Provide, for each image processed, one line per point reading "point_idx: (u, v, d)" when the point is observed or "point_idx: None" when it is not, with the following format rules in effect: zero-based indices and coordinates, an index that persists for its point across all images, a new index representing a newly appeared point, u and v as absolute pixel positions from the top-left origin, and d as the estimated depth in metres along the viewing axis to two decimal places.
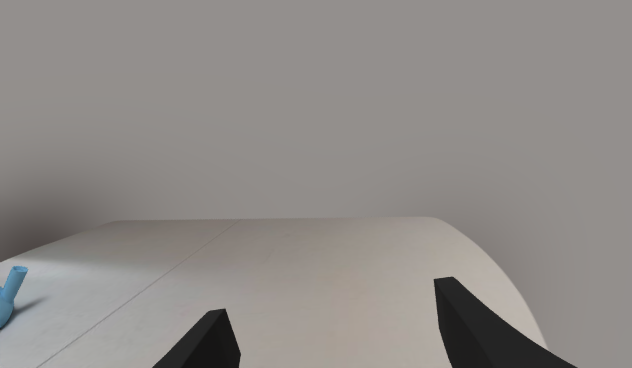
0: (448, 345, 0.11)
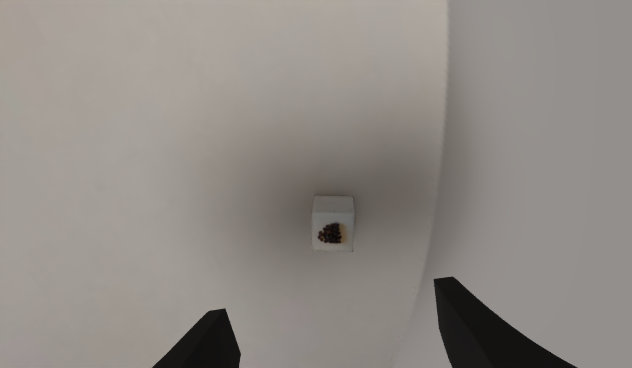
0: (448, 345, 0.11)
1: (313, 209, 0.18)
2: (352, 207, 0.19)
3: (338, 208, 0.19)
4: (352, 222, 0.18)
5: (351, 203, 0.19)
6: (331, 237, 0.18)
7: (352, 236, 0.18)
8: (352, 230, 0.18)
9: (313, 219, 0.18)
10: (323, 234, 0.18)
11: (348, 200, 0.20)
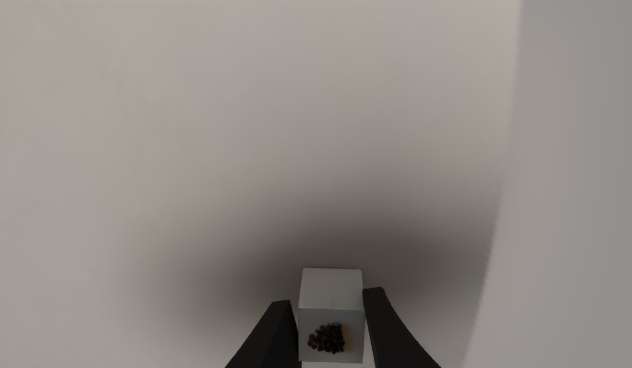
0: (373, 354, 0.11)
1: (300, 300, 0.12)
2: (361, 295, 0.12)
3: (339, 297, 0.12)
4: (362, 323, 0.11)
5: (359, 285, 0.12)
6: (329, 345, 0.12)
7: (361, 342, 0.12)
8: (362, 334, 0.12)
9: (300, 317, 0.12)
10: (316, 339, 0.12)
11: (355, 278, 0.13)
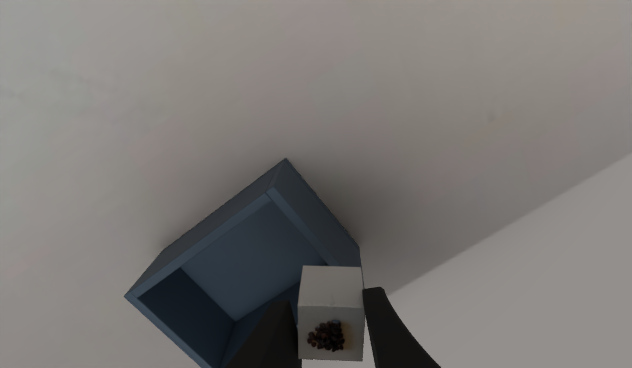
0: None
1: (300, 298, 0.12)
2: (361, 293, 0.12)
3: (339, 294, 0.12)
4: (361, 320, 0.11)
5: (359, 283, 0.12)
6: (328, 343, 0.12)
7: (361, 340, 0.12)
8: (361, 331, 0.12)
9: (300, 315, 0.12)
10: (316, 337, 0.12)
11: (354, 275, 0.13)
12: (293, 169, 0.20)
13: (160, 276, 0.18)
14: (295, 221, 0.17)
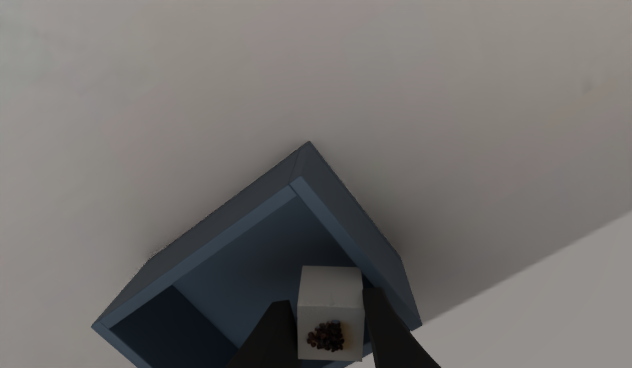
0: (373, 354, 0.11)
1: (300, 298, 0.12)
2: (361, 293, 0.12)
3: (339, 295, 0.12)
4: (361, 320, 0.11)
5: (359, 283, 0.12)
6: (328, 343, 0.12)
7: (361, 340, 0.12)
8: (361, 332, 0.12)
9: (299, 315, 0.12)
10: (315, 337, 0.12)
11: (354, 276, 0.13)
12: (319, 156, 0.15)
13: (140, 300, 0.13)
14: (330, 225, 0.12)
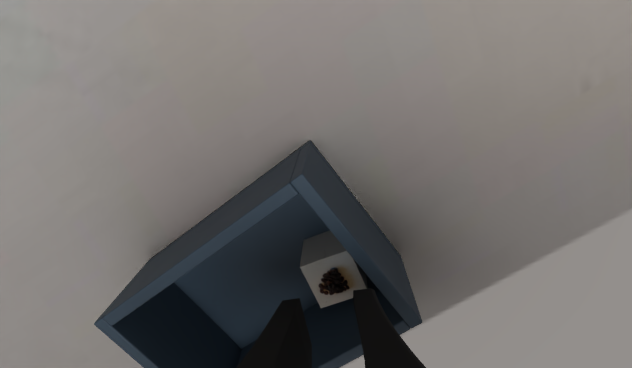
0: None
1: (301, 261, 0.15)
2: None
3: (330, 248, 0.15)
4: (351, 260, 0.14)
5: None
6: (334, 287, 0.15)
7: (359, 276, 0.15)
8: (356, 269, 0.15)
9: (305, 274, 0.15)
10: (324, 286, 0.15)
11: None
12: (320, 155, 0.15)
13: (143, 297, 0.13)
14: (331, 223, 0.12)
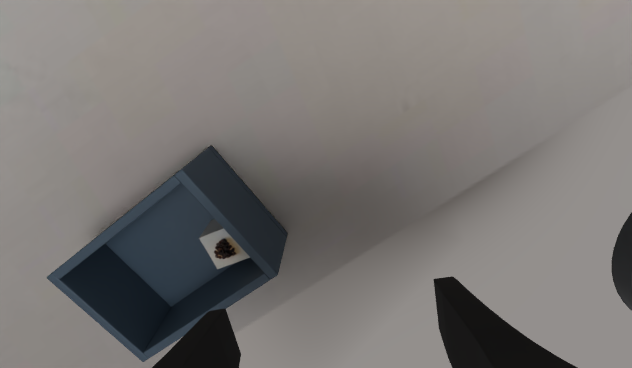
0: (448, 345, 0.11)
1: (201, 234, 0.20)
2: None
3: None
4: None
5: None
6: (224, 252, 0.20)
7: None
8: None
9: (203, 243, 0.20)
10: (218, 252, 0.20)
11: None
12: (218, 156, 0.21)
13: (80, 257, 0.19)
14: (205, 203, 0.17)
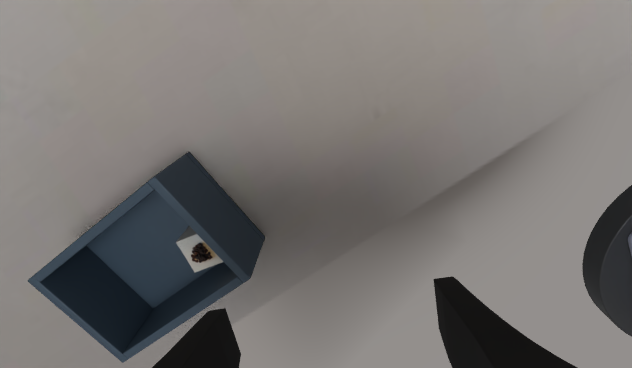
0: (448, 345, 0.11)
1: (179, 239, 0.21)
2: None
3: None
4: None
5: None
6: (200, 256, 0.21)
7: None
8: None
9: (180, 247, 0.21)
10: (194, 256, 0.21)
11: None
12: (195, 163, 0.21)
13: (59, 261, 0.19)
14: (178, 209, 0.18)
